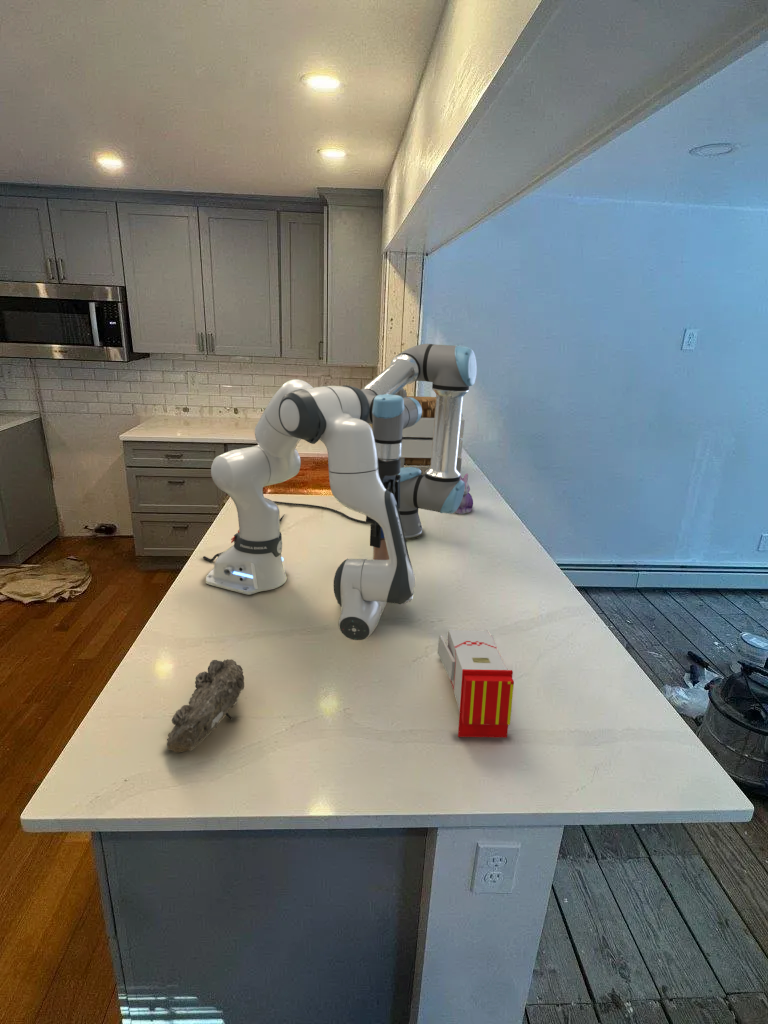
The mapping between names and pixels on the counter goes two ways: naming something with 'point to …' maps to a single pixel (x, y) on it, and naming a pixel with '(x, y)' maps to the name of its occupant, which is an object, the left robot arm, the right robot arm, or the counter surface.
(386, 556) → the jar
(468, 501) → the figurine
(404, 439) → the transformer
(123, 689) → the counter surface
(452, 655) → the toy
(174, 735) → the fossil
